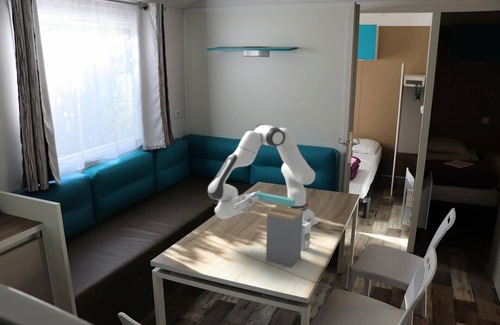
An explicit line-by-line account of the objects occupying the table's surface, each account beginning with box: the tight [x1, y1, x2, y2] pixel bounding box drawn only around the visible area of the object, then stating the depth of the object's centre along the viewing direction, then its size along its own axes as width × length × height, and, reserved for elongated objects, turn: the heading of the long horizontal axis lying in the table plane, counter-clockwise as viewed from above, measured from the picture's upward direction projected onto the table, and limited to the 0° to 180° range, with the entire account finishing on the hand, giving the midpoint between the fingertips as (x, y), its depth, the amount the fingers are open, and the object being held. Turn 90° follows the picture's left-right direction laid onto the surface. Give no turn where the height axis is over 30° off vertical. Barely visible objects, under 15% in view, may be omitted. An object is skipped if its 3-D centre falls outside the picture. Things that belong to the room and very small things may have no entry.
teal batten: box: [253, 191, 295, 206], centre depth 214 cm, size 21×3×3 cm, turn 62°
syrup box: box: [301, 221, 312, 252], centre depth 230 cm, size 6×6×14 cm
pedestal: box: [265, 204, 303, 268], centre depth 215 cm, size 14×12×26 cm
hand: (261, 195), depth 217 cm, fingers closed on teal batten, 3 cm apart
